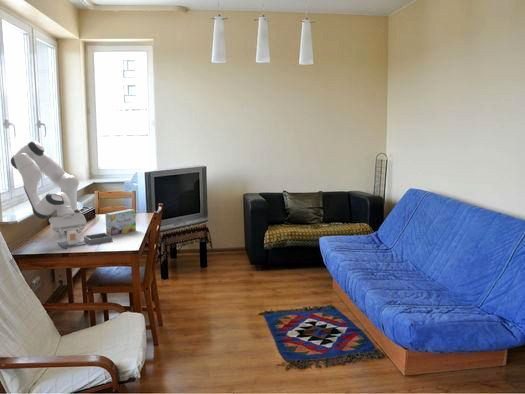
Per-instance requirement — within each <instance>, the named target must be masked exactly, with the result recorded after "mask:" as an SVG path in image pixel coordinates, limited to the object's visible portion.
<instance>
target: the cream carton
mask: <svg viewBox="0 0 525 394" xmlns="http://www.w3.org/2000/svg"><path fill="white" fill-rule="evenodd" d="M65 232H66V241H67V243H68V244H69V245H72V244H77V239H78V237H77V230H67V231H65Z"/></svg>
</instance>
